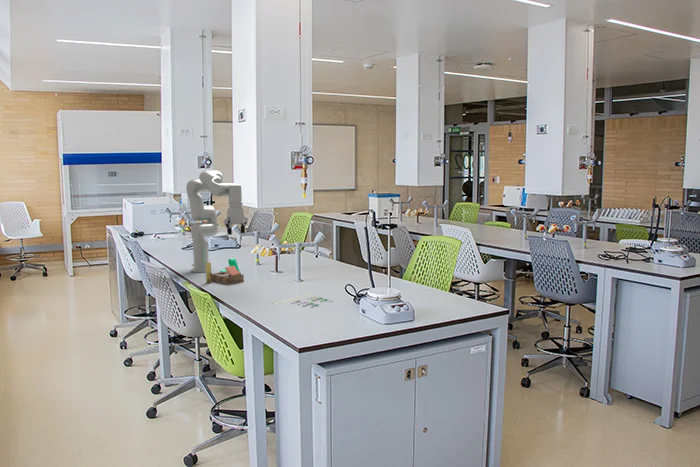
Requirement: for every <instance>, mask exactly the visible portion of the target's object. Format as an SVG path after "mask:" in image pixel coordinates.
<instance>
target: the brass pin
mask: <svg viewBox="0 0 700 467" xmlns="http://www.w3.org/2000/svg"><path fill="white" fill-rule="evenodd" d="M211 274H212V262H206V272H205V276H206V277H205V278H206V279H205V280H206V283H207V284H211V282H213V281H212V278H211Z"/></svg>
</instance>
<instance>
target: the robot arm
mask: <svg viewBox="0 0 700 467" xmlns="http://www.w3.org/2000/svg"><path fill="white" fill-rule="evenodd" d="M185 189H186V194H187V196H188V200H189V206H190V214H191V215H190V216H191V219H192V220H193V221H195V222H196V223H194V224H192V225H191V226H190V234H191V238H192V250H193V252H192V253H193V263H192V264H191V267H193V268H191V272H193V273H206V262H209V244H208V241H207V240H206V238H209V237H215V236H217V234H218V231H219V229H218V220H217V219H218V218H217V212H216V210H215V208H214V207H213V206H212V205H205V203H204V198H203V197H202V195H201V194H200V193H211V194H212V195H213V196H216V197H228V207H227V210H226V211H227V212H226V218H225V219H224V220H223V221H222V222H223V224H224V226H225V227H226V228H227V235H228V236H229V235H233V232H232V231H233V230H232V229H233V228H232V226H233V225H240V233H241V234H246V225H248V220H249V218H247V216H246V217H245V214H244V212H245V211H244V208H243V206H244V203H243V200H242V197H243V196H242V185H241V184H239V183H237V184H236V183H223V174H222V173H221V172H220V171H218V170H205V171H202V172H200V174H199V176H198V178H195V179H191V180H189V181H187V183H186V188H185ZM198 221H199V222H198ZM200 221H201V222H200ZM202 221H203V222H202ZM204 221H206V222H204Z"/></svg>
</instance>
